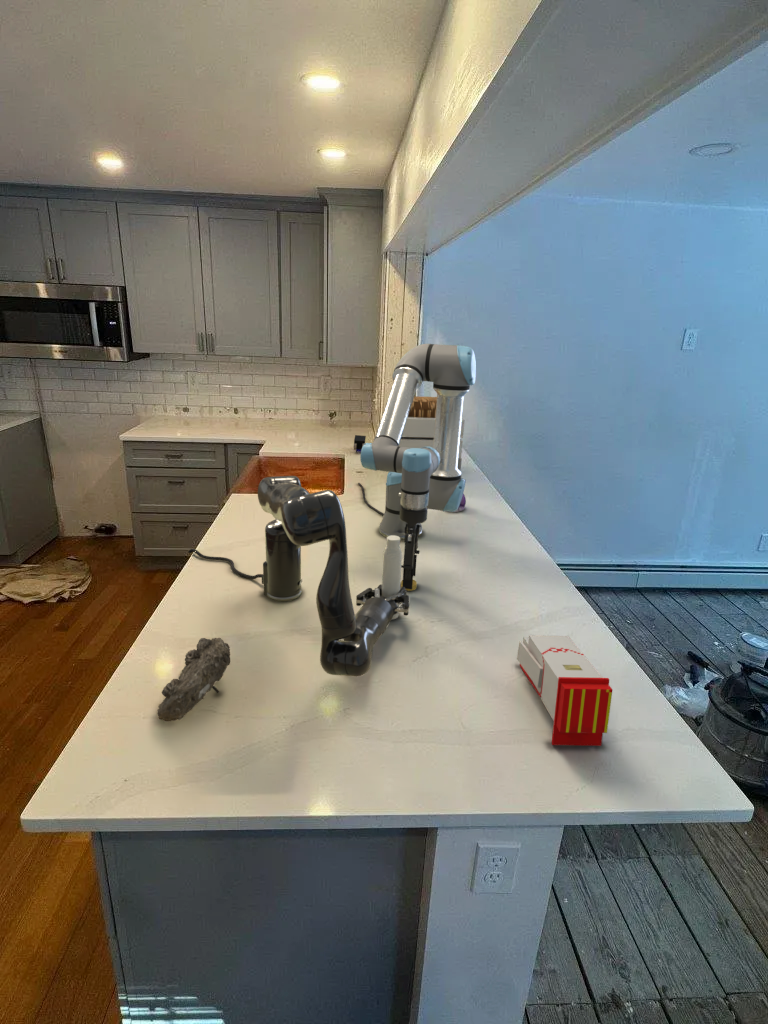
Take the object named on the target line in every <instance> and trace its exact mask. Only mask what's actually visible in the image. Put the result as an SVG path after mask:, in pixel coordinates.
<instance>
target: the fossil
mask: <svg viewBox="0 0 768 1024" xmlns="http://www.w3.org/2000/svg"><path fill="white" fill-rule="evenodd" d="M230 648H231V647H230V645H229V644H228V642H225V641H224V640H223V639H222V638H221V637H214V638H211V639H210V638H206V637H201V638H200V639H199V640H198V642H197V644H196V649H194V648H193V649H191V650H189V651H187V653H186V654H185V658H184V661H185V662H184V664H185V666H184V667H183V669H182V670H181V672H180V674H179V676H178V678H173V679H171V680H170V682H167V683H166V685H165V686H163V689H162V690H161V694H162V695H163V696H164V698H163V700H162V702H161V703H159V704H158V709H157V719H158V720H162V721H163V722H165V723H167V722H172V721H173V722H175V721H180V720H182V719H183V718H184V717H185V716H186V715H187V714H188V713H189V712H191V711H192V710H193V709H194V708H195V707H196V706H197V705H198V704H199V703H200V702H201V701H202V700H204V699H205V697H206V695H207V693H208V692H210V691H211V690H214V692H216V694H219V693H220V690H219V689H218V688H217V687H216V686H215V684H216V682H219V681H220V680H221V679H222V678H223V676H224V673H225V671H226V670H227V668H228V667H229V665H231V649H230Z"/></svg>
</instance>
